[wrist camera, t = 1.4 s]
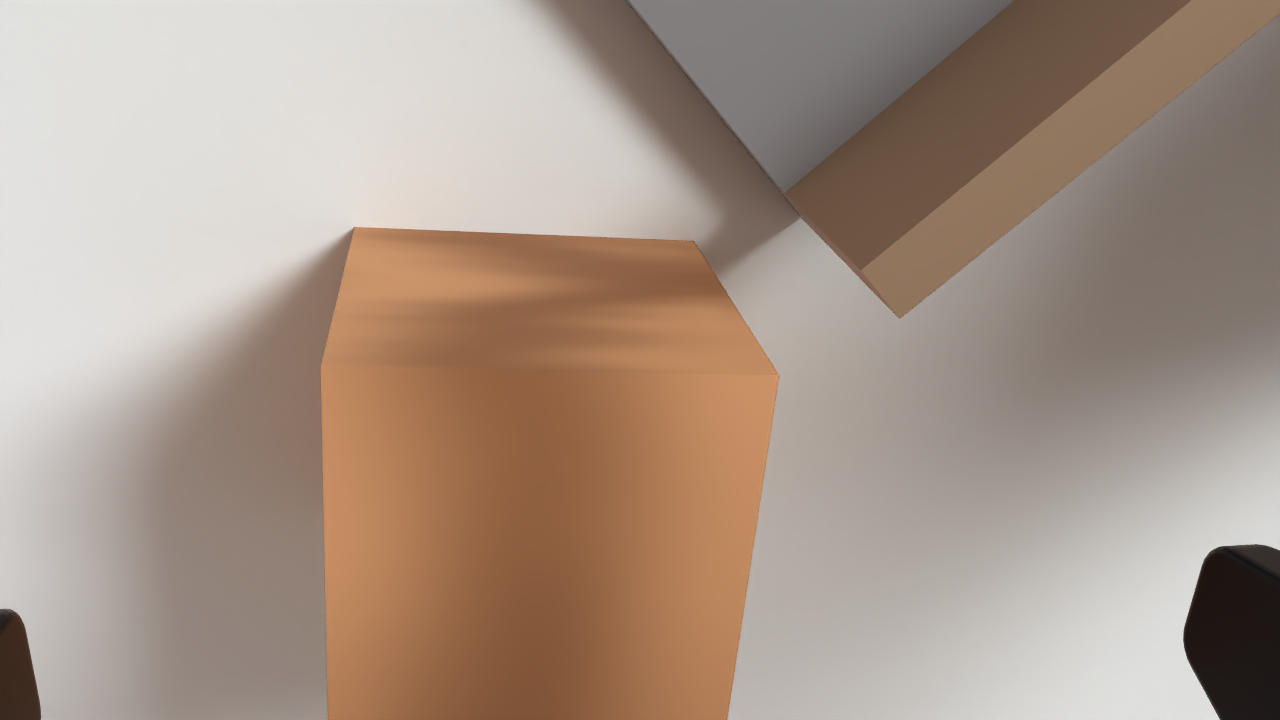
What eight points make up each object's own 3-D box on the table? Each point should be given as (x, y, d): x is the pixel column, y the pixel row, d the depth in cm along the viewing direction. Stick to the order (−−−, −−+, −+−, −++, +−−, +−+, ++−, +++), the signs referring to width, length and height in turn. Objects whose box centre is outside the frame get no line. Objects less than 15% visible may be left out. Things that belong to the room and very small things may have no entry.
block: (693, 239, 21) (779, 375, 16) (661, 522, 23) (726, 726, 18) (354, 225, 20) (320, 365, 14) (356, 523, 22) (328, 741, 17)
